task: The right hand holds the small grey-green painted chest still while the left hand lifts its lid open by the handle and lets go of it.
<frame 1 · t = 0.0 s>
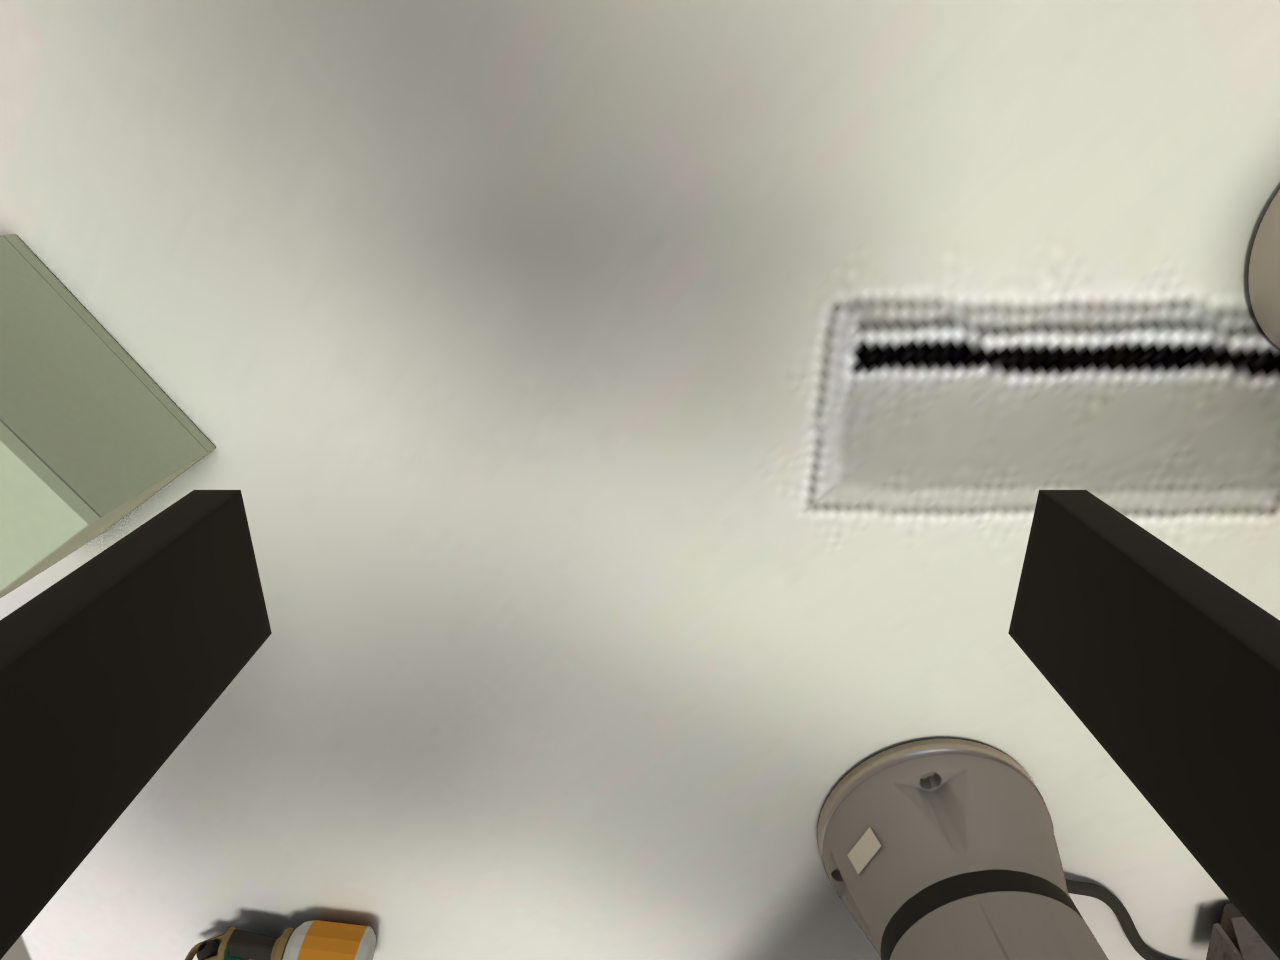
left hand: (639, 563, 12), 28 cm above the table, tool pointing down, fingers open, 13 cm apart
chest: (61, 395, 40), on the table
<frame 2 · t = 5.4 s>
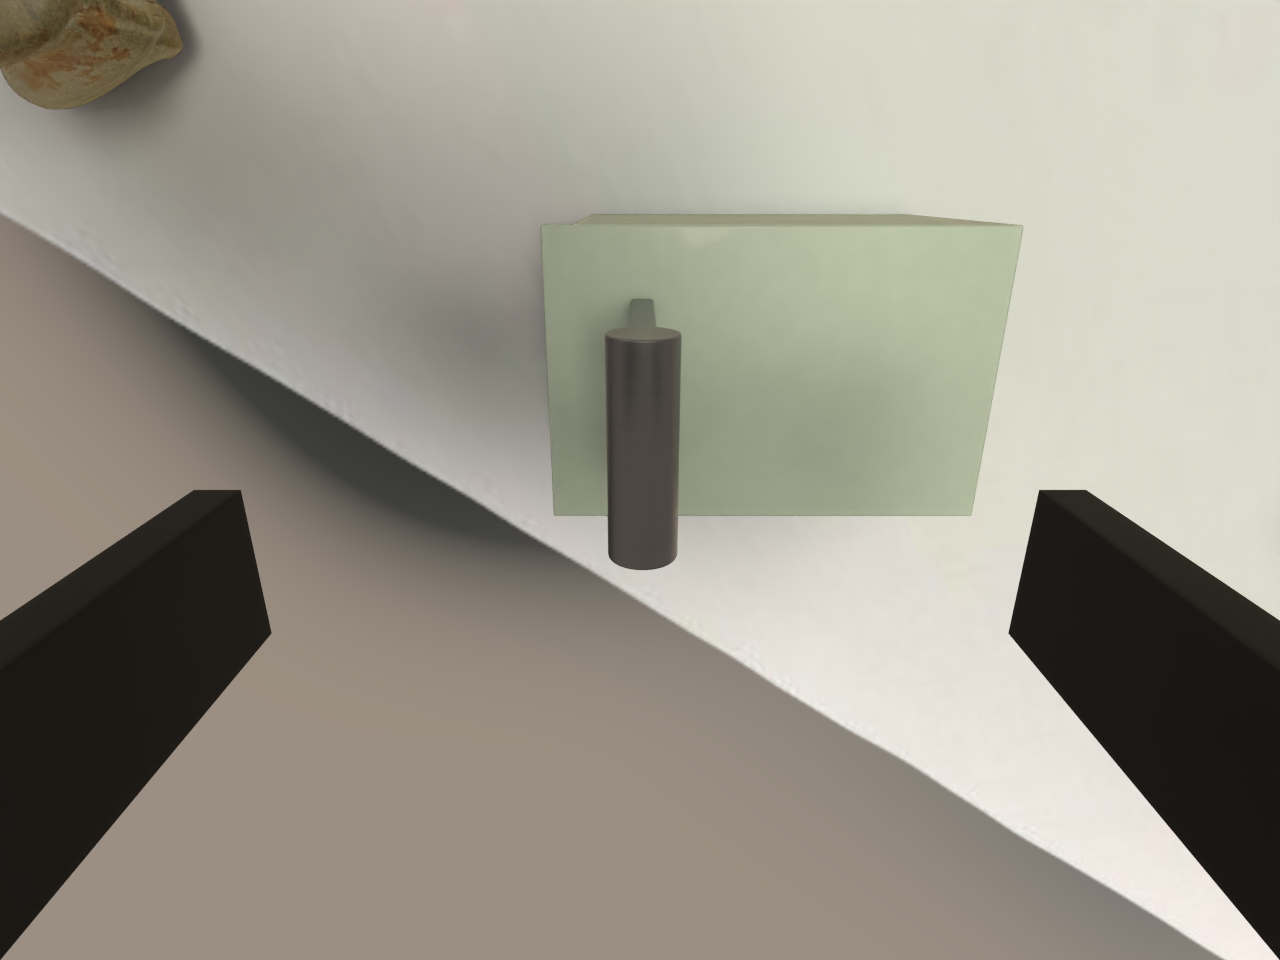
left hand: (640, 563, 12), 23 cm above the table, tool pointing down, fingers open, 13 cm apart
lid: (791, 410, 21), point 14 cm above the table, hinge at 0.0°
sculpture: (112, 31, 29), on the table
chest: (744, 326, 34), on the table
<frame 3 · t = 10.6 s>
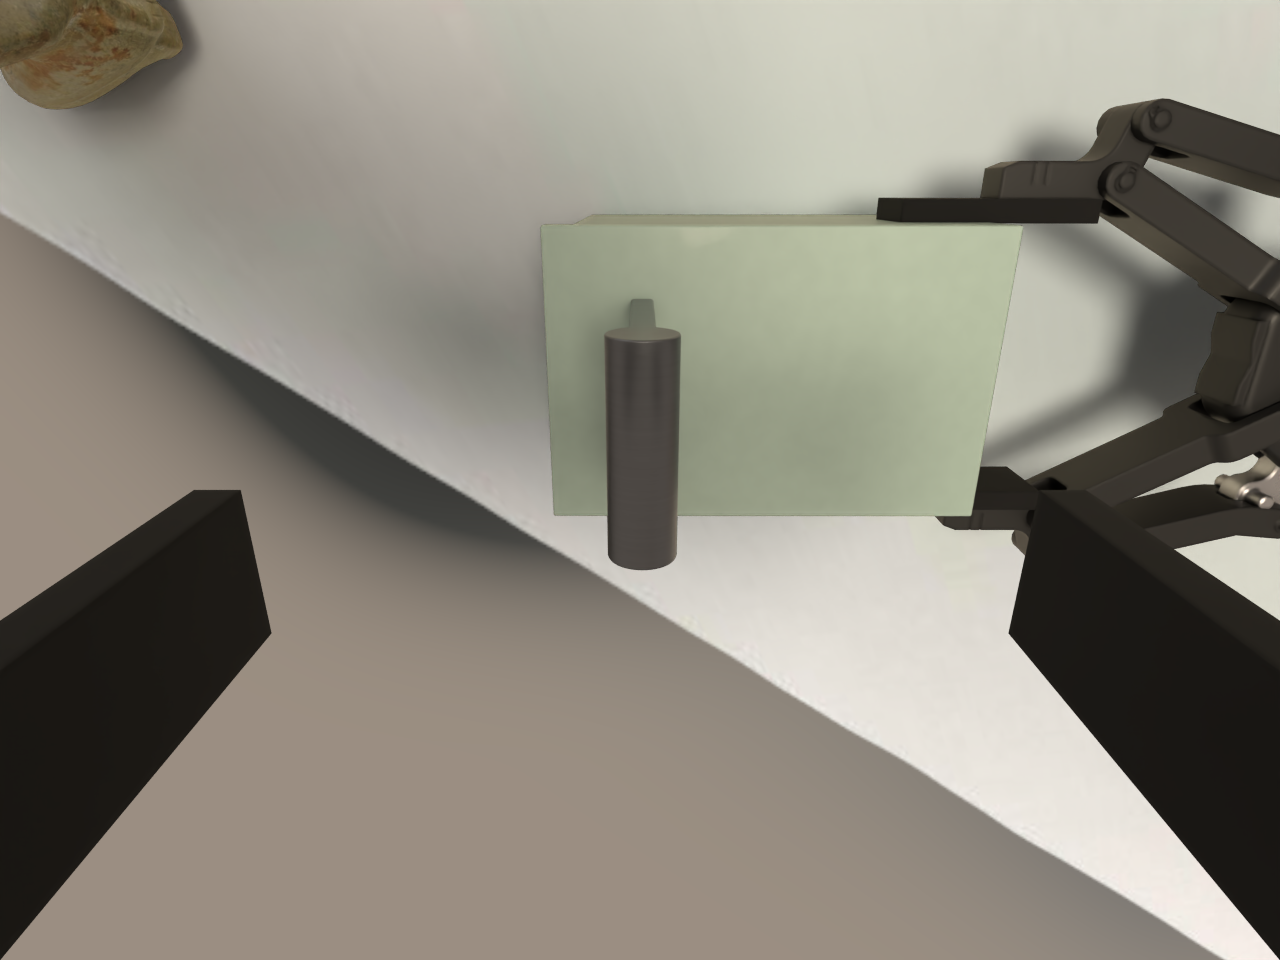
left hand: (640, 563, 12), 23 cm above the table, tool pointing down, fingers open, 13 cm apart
right hand: (871, 358, 27), fingers closed on chest, 10 cm apart
lid: (791, 411, 21), point 14 cm above the table, hinge at 0.0°
sculpture: (112, 31, 29), on the table
chest: (744, 326, 34), on the table, touching right hand
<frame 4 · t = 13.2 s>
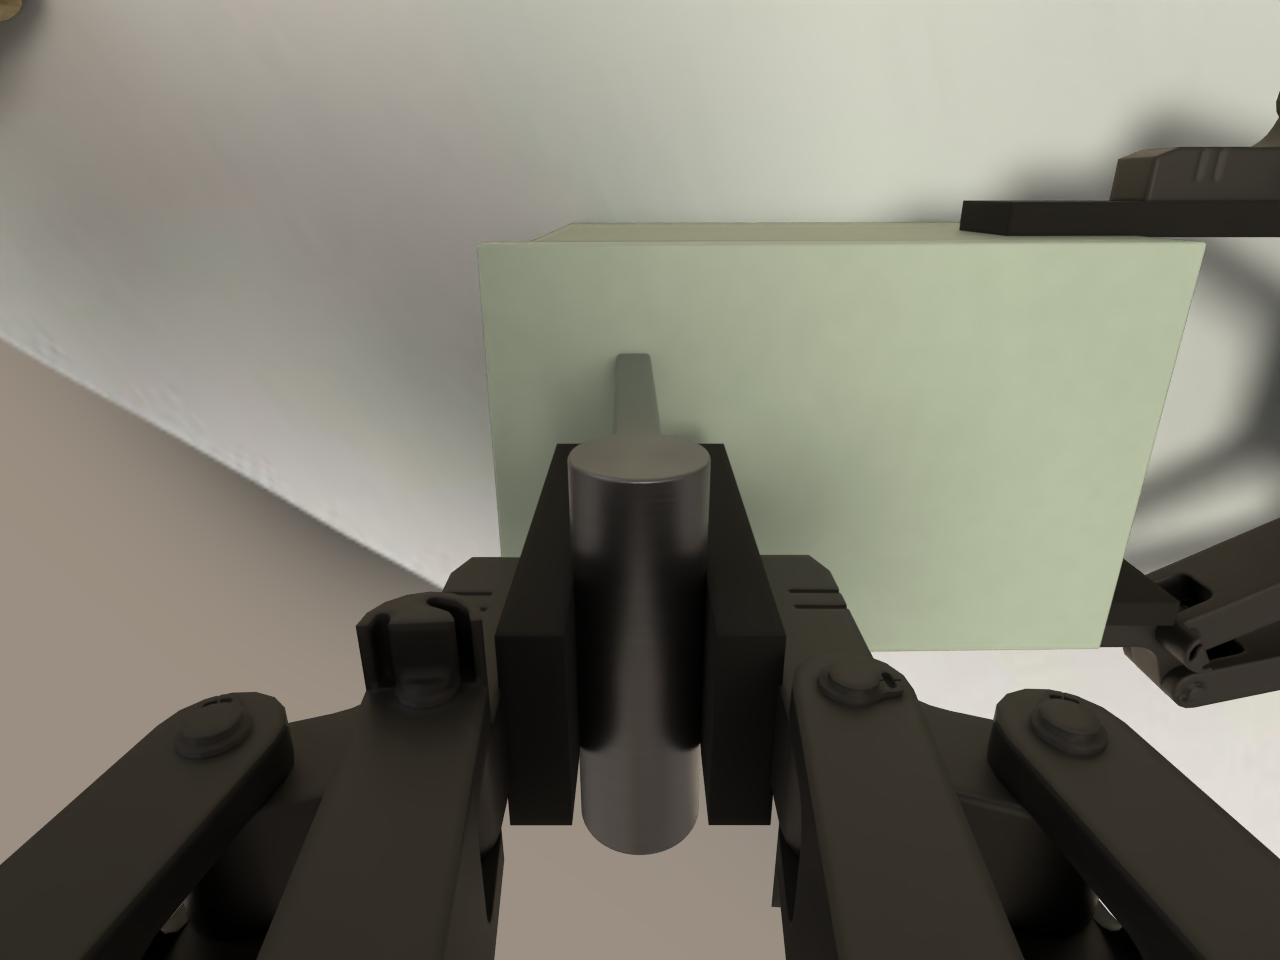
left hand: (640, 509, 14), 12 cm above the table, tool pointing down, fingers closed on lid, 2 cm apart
lid: (871, 537, 13), point 14 cm above the table, hinge at 1.3°, touching left hand
chest: (768, 366, 26), on the table, touching right hand
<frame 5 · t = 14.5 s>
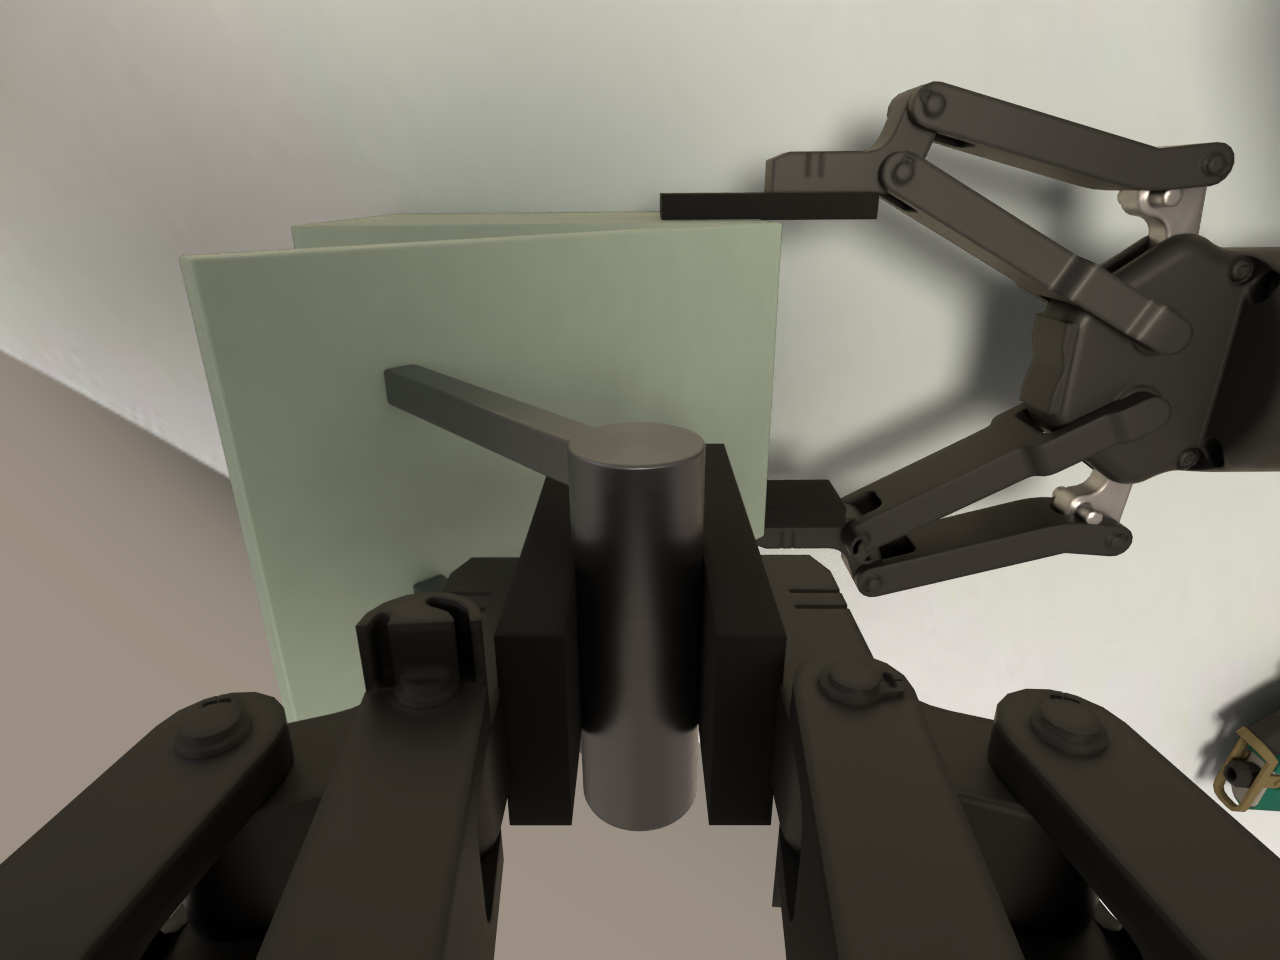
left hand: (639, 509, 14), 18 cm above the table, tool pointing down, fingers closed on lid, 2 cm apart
right hand: (660, 366, 25), fingers closed on chest, 10 cm apart
lid: (681, 486, 15), point 18 cm above the table, hinge at 42.2°, touching left hand
chest: (567, 331, 32), on the table, touching right hand
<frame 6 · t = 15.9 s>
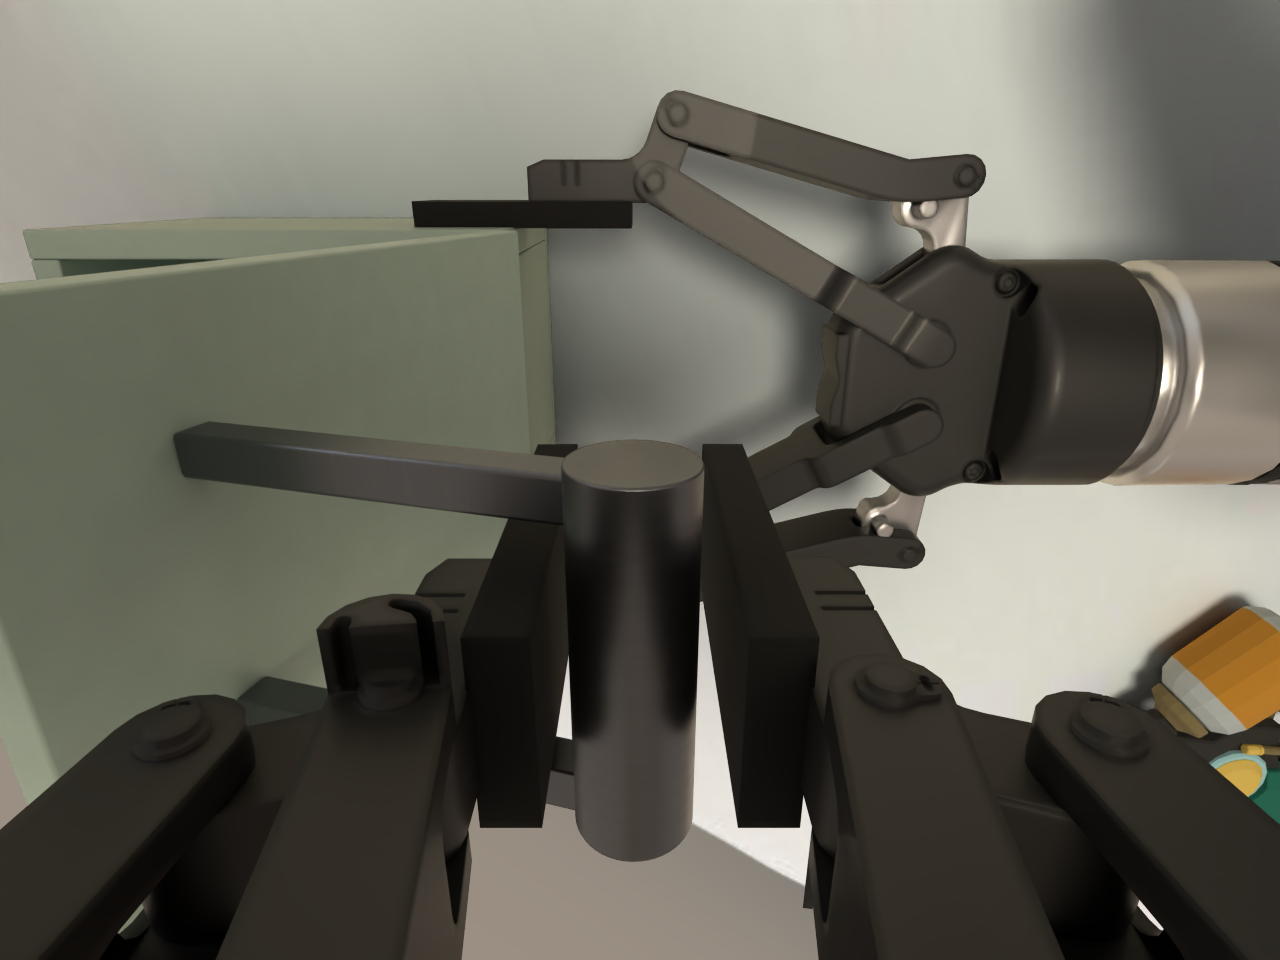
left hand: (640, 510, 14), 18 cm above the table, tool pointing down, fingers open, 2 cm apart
right hand: (441, 374, 25), fingers closed on chest, 10 cm apart
lid: (532, 507, 15), point 18 cm above the table, hinge at 73.5°
spray gun: (1242, 719, 39), on the table
chest: (390, 337, 31), on the table, touching right hand
when the right hand's fingers open (7 cm above the table, at t = 19.9 s): chest stays where it is, on the table.
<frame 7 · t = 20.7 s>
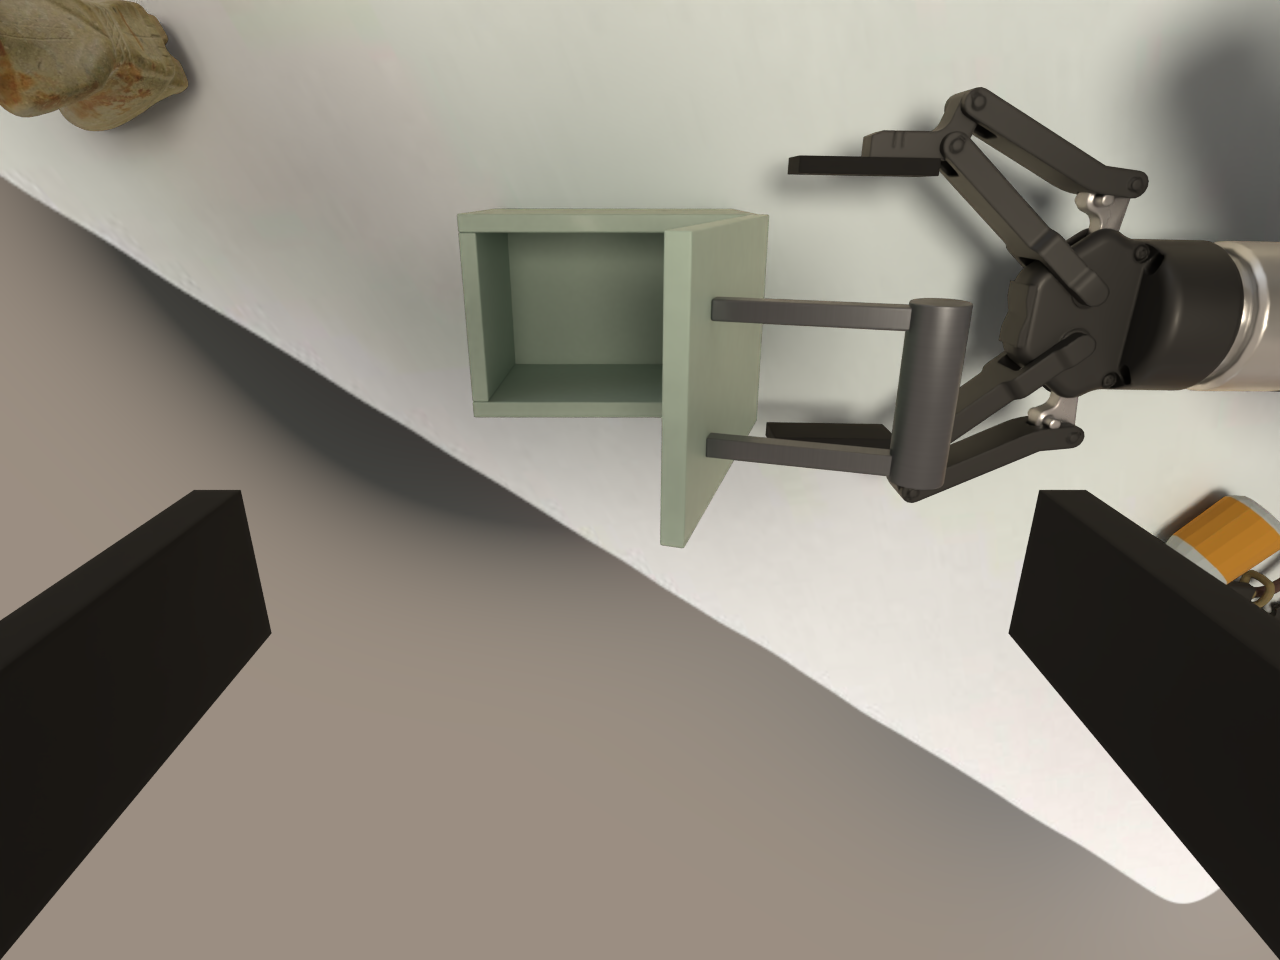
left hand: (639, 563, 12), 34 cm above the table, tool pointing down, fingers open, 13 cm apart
right hand: (780, 309, 38), fingers open, 13 cm apart
lid: (825, 359, 27), point 18 cm above the table, hinge at 72.6°
spray gun: (1226, 588, 51), on the table
sculpture: (136, 73, 40), on the table
chest: (615, 294, 44), on the table
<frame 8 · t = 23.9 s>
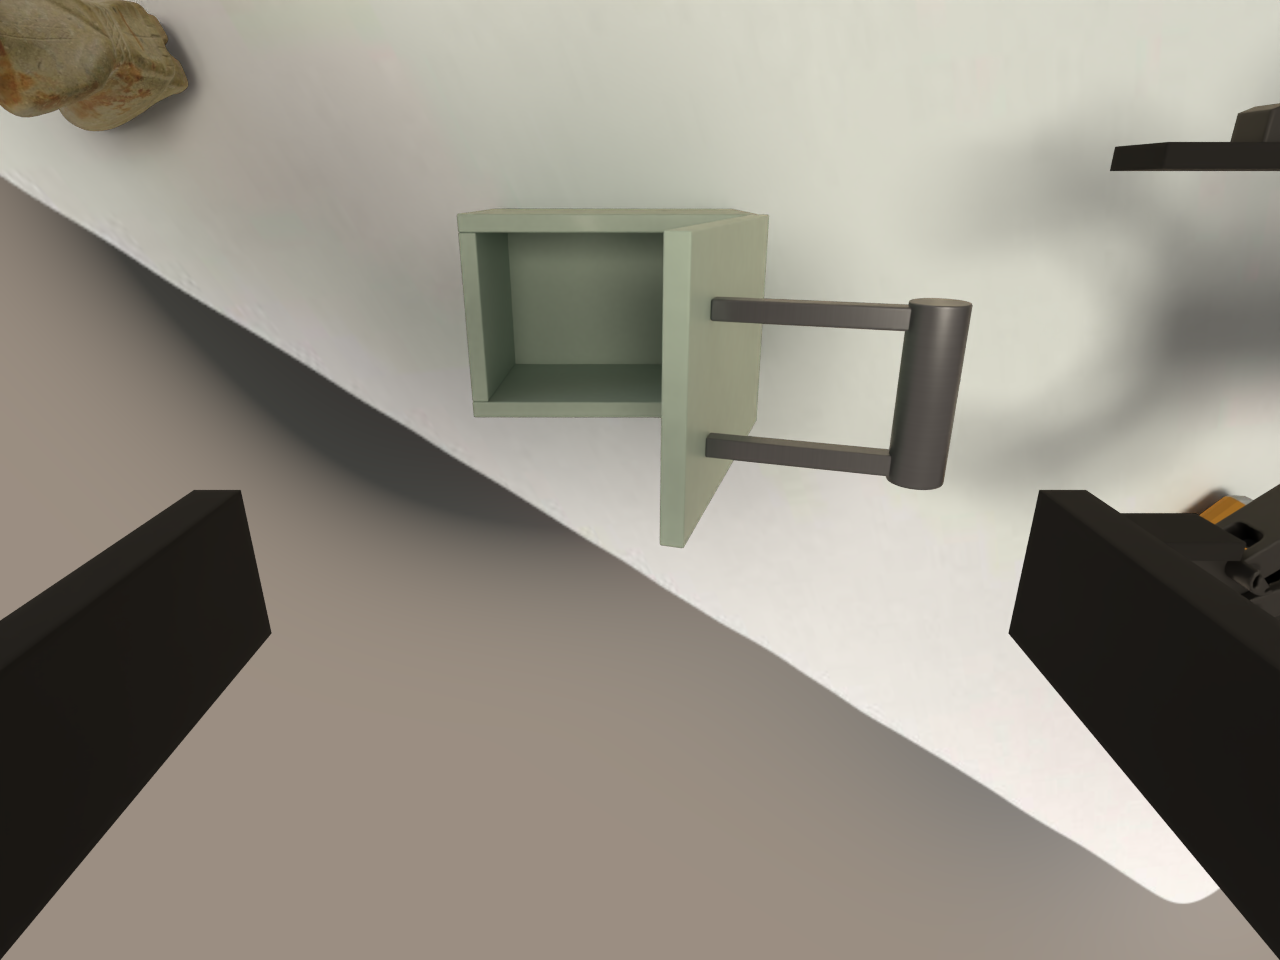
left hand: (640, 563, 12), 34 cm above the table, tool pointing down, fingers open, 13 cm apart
lid: (825, 359, 27), point 18 cm above the table, hinge at 72.6°
spray gun: (1226, 588, 51), on the table
sculpture: (136, 73, 40), on the table
chest: (615, 294, 44), on the table
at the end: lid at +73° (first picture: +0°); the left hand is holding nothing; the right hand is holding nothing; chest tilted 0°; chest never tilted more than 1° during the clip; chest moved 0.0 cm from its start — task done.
